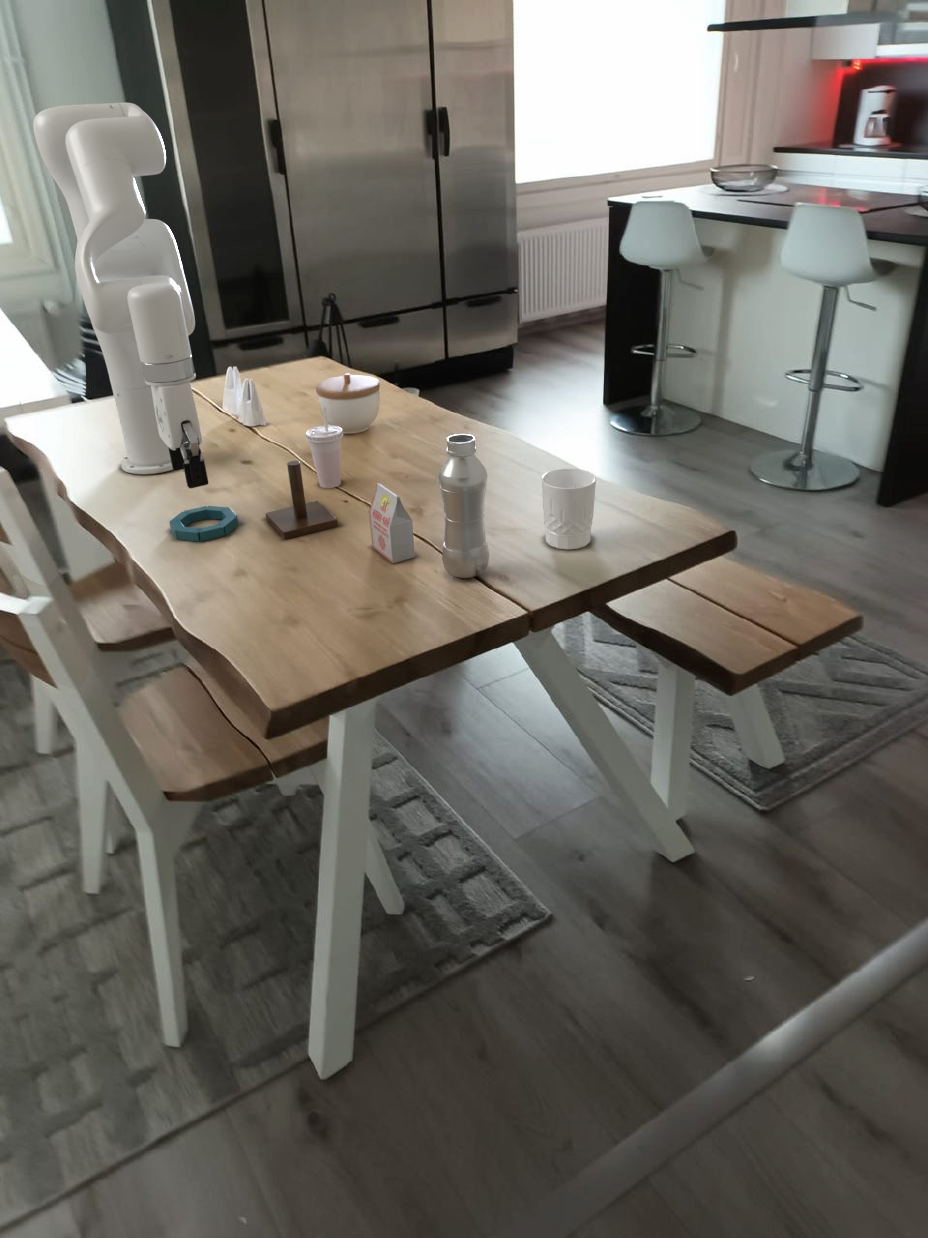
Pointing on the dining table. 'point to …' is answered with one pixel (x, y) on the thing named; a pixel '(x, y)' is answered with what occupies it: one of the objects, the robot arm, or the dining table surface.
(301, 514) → the brown peg stand
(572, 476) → the white cup
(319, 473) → the smoothie
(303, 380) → the dining table surface
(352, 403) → the lidded bowl
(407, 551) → the white milk carton
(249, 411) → the white twin peak shape
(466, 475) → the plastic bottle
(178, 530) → the ring
